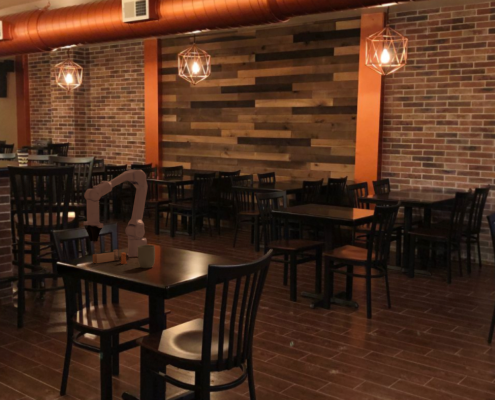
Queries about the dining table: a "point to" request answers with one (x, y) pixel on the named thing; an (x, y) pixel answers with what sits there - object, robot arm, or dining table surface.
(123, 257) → the latch stile
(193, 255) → the dining table surface
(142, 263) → the cup
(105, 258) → the gate rail
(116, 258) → the pivot post
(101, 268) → the dining table surface
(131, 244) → the robot arm
